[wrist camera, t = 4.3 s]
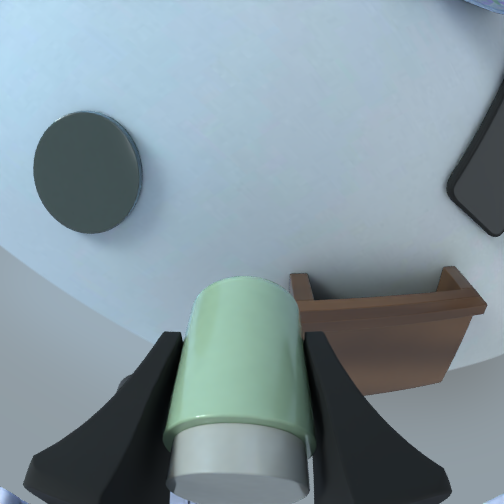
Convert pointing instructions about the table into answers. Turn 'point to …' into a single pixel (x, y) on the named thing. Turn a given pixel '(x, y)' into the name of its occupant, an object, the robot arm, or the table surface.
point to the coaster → (87, 172)
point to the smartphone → (483, 173)
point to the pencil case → (489, 5)
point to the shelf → (393, 331)
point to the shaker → (241, 399)
